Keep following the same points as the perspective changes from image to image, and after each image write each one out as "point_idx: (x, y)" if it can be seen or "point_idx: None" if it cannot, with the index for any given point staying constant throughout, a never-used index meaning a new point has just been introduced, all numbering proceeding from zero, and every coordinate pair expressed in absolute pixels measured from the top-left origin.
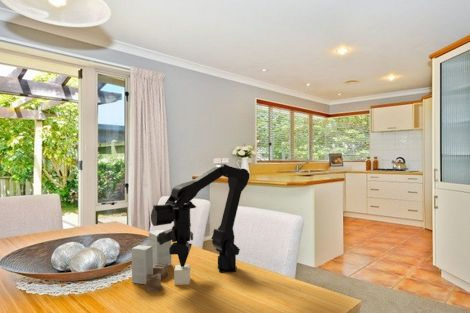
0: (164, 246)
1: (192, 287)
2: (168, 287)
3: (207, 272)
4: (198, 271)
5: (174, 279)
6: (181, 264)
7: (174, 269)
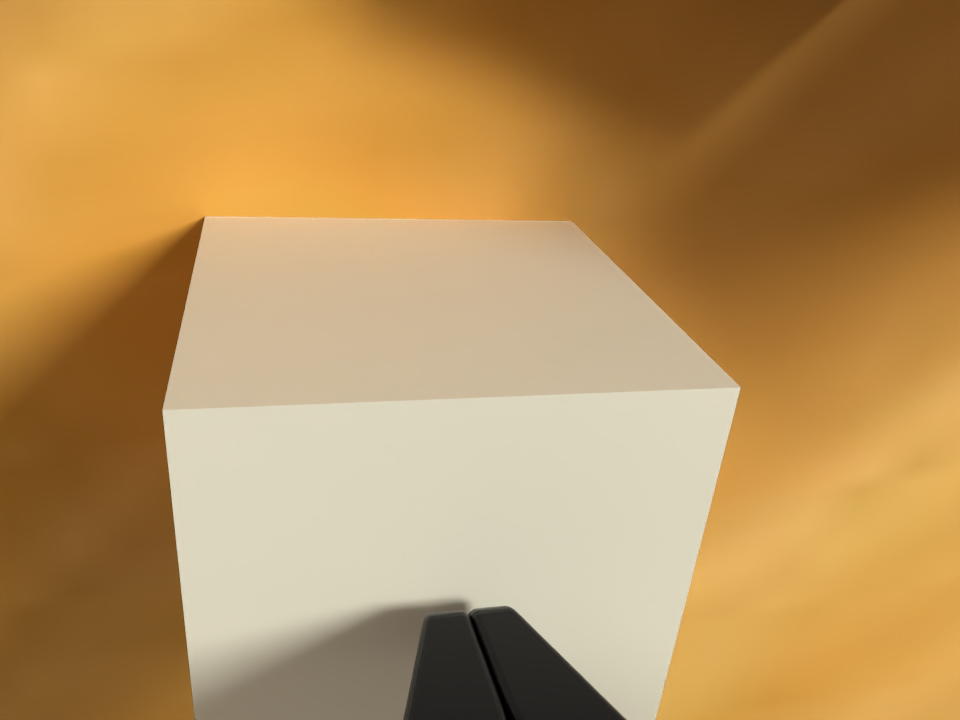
0: None
1: (57, 607)
2: (10, 76)
3: (715, 710)
4: (807, 583)
5: (196, 272)
6: (405, 716)
7: (260, 407)
